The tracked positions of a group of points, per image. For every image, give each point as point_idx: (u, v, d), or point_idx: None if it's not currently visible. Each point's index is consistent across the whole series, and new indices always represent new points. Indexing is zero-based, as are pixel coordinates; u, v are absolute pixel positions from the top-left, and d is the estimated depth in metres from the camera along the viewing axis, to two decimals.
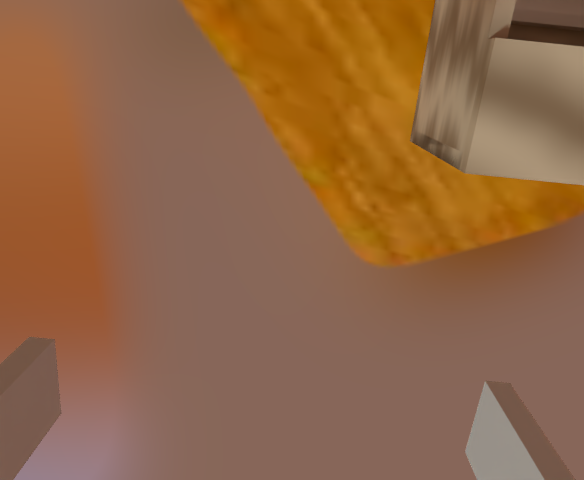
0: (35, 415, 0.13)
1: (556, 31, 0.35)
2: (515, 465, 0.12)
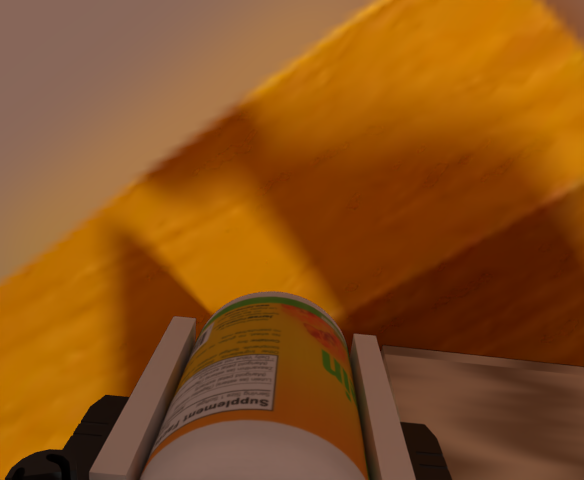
0: None
1: None
2: (359, 399, 0.13)
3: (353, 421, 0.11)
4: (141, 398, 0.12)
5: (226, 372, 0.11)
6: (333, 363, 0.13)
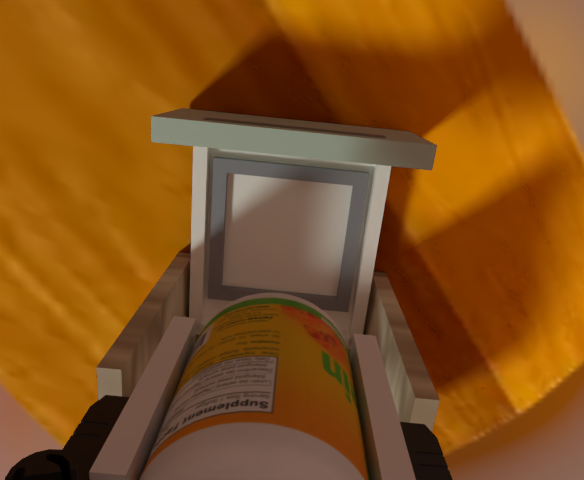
0: None
1: None
2: (359, 399, 0.13)
3: (353, 423, 0.11)
4: (141, 398, 0.12)
5: (227, 373, 0.11)
6: (333, 364, 0.13)
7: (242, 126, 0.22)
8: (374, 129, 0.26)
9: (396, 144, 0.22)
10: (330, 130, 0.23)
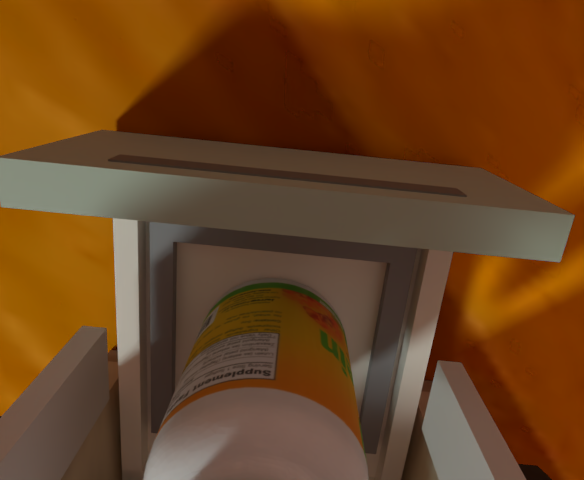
0: (90, 399, 0.14)
1: None
2: (457, 435, 0.12)
3: (349, 393, 0.12)
4: (12, 420, 0.10)
5: (232, 347, 0.12)
6: (330, 342, 0.14)
7: (181, 177, 0.11)
8: (426, 167, 0.15)
9: (492, 214, 0.11)
10: (356, 179, 0.12)
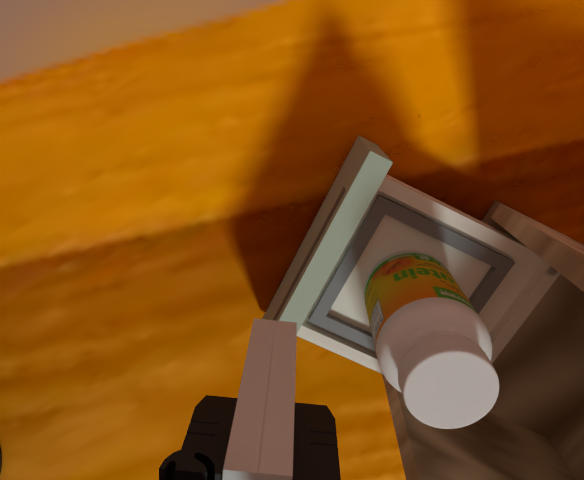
0: None
1: None
2: None
3: (419, 284, 0.23)
4: (249, 398, 0.12)
5: (372, 324, 0.24)
6: (400, 273, 0.24)
7: (284, 311, 0.24)
8: (341, 173, 0.26)
9: (353, 189, 0.22)
10: (319, 233, 0.24)
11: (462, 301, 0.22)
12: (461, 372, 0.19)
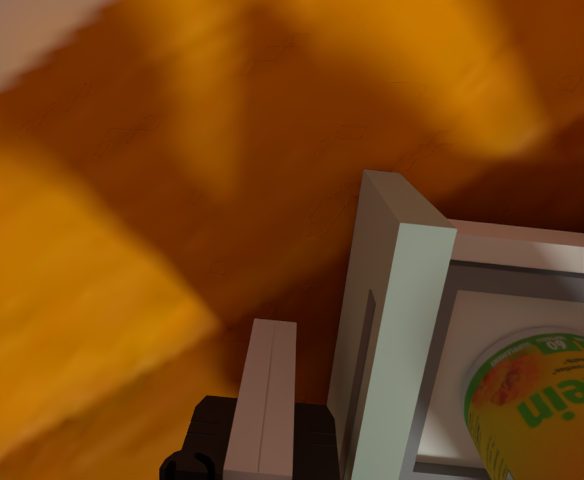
0: None
1: None
2: None
3: None
4: (249, 398, 0.12)
5: None
6: (532, 405, 0.12)
7: None
8: (357, 244, 0.15)
9: (391, 306, 0.10)
10: (354, 383, 0.12)
11: None
12: None
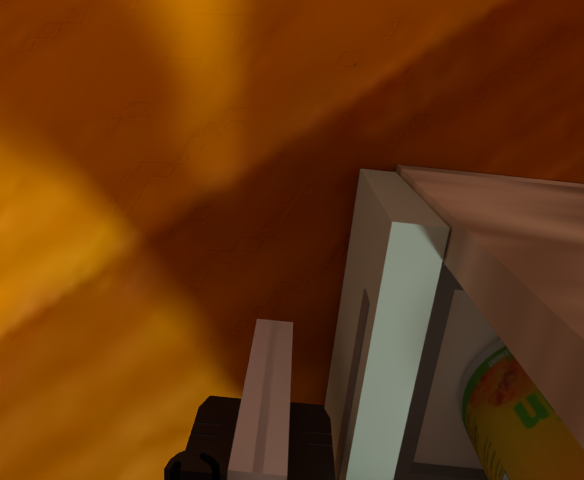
0: None
1: None
2: None
3: None
4: (253, 399, 0.12)
5: None
6: (529, 405, 0.12)
7: None
8: (353, 243, 0.15)
9: (385, 305, 0.10)
10: (349, 382, 0.12)
11: None
12: None
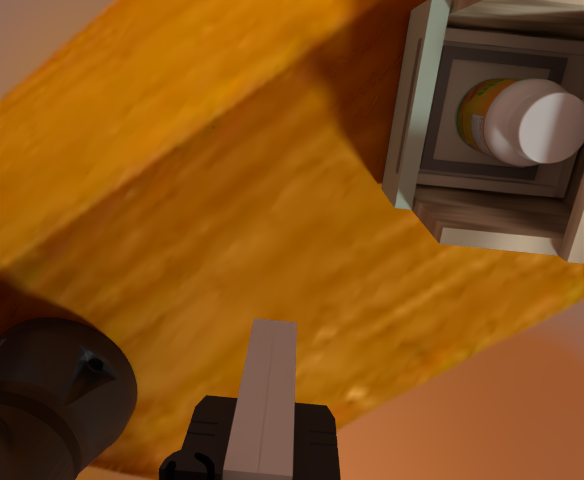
0: None
1: None
2: None
3: (501, 84, 0.30)
4: (249, 398, 0.12)
5: (474, 132, 0.31)
6: (482, 90, 0.31)
7: (406, 147, 0.32)
8: (408, 42, 0.34)
9: (429, 31, 0.29)
10: (411, 81, 0.31)
11: None
12: (557, 110, 0.26)
